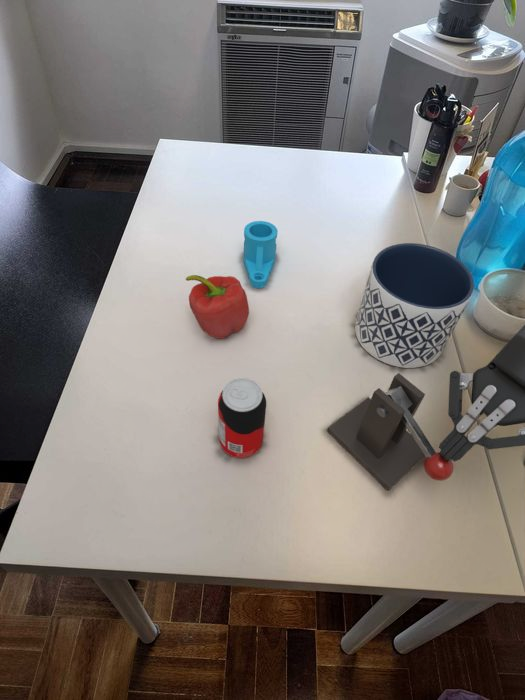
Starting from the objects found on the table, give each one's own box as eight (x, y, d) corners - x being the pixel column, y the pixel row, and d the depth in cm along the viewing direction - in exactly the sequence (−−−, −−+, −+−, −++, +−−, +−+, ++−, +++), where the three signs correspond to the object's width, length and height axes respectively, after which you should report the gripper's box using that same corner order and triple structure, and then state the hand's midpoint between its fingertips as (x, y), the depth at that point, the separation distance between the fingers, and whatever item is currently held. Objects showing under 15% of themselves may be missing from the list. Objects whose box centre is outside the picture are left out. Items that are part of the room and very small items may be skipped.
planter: (445, 316, 88) (475, 255, 77) (440, 380, 78) (474, 320, 67) (362, 296, 91) (379, 234, 80) (346, 355, 81) (364, 293, 70)
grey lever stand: (427, 454, 69) (459, 405, 59) (387, 491, 65) (414, 445, 55) (366, 401, 75) (386, 348, 65) (326, 431, 71) (341, 380, 61)
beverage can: (255, 466, 66) (259, 420, 57) (213, 454, 67) (210, 407, 58) (267, 429, 70) (272, 381, 61) (227, 418, 71) (226, 369, 62)
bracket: (275, 250, 99) (277, 221, 93) (274, 289, 91) (277, 259, 85) (244, 249, 99) (244, 220, 93) (241, 287, 91) (241, 257, 85)
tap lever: (444, 471, 63) (464, 469, 60) (428, 486, 62) (447, 486, 58) (390, 387, 64) (407, 382, 61) (373, 401, 62) (389, 396, 59)
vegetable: (178, 336, 82) (172, 293, 74) (201, 298, 88) (198, 255, 81) (237, 353, 80) (237, 311, 72) (256, 312, 86) (258, 270, 79)
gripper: (493, 312, 55) (396, 420, 59) (602, 386, 49) (484, 502, 53) (500, 324, 61) (411, 421, 66) (597, 392, 55) (492, 495, 59)
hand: (444, 457), depth 59 cm, fingers closed
